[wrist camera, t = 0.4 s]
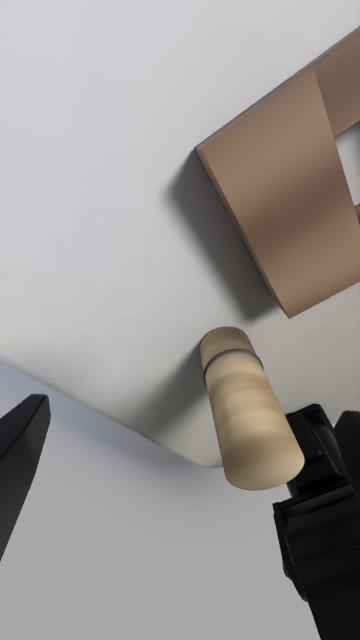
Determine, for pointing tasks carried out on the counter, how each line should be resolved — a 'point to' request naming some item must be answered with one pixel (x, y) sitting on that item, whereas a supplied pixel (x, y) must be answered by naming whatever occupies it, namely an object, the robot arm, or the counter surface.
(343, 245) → the walnut board
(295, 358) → the counter surface
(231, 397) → the oak peg
